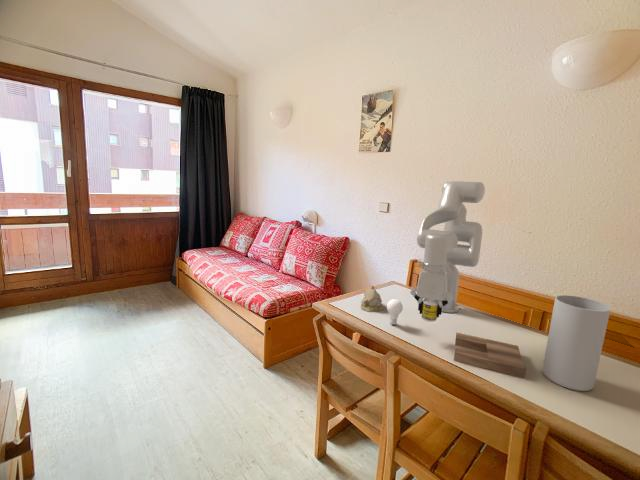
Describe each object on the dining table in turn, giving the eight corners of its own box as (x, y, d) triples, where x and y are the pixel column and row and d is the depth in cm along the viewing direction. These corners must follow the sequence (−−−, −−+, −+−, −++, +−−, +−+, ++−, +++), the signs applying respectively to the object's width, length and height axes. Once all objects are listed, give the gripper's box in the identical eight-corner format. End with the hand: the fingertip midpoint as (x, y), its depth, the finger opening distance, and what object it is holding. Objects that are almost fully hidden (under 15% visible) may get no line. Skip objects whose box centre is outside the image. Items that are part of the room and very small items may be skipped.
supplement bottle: (421, 320, 114) (423, 295, 112) (421, 314, 119) (423, 290, 117) (436, 323, 112) (439, 298, 110) (436, 317, 117) (439, 292, 115)
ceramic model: (386, 312, 141) (388, 291, 139) (362, 312, 140) (364, 291, 138) (379, 300, 155) (380, 281, 153) (357, 300, 154) (358, 281, 152)
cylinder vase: (578, 396, 87) (595, 313, 83) (532, 371, 98) (546, 297, 94) (602, 386, 92) (619, 308, 88) (556, 364, 103) (570, 293, 99)
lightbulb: (395, 329, 124) (397, 303, 122) (382, 323, 129) (384, 298, 127) (404, 325, 128) (406, 300, 126) (391, 319, 133) (393, 295, 131)
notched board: (455, 339, 117) (456, 332, 117) (516, 353, 109) (517, 345, 109) (453, 360, 103) (454, 352, 103) (523, 378, 95) (525, 369, 94)
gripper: (408, 267, 112) (404, 313, 115) (459, 274, 104) (453, 323, 108) (411, 262, 118) (407, 306, 122) (460, 268, 111) (454, 315, 115)
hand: (429, 313), depth 115 cm, fingers closed on supplement bottle, 5 cm apart
